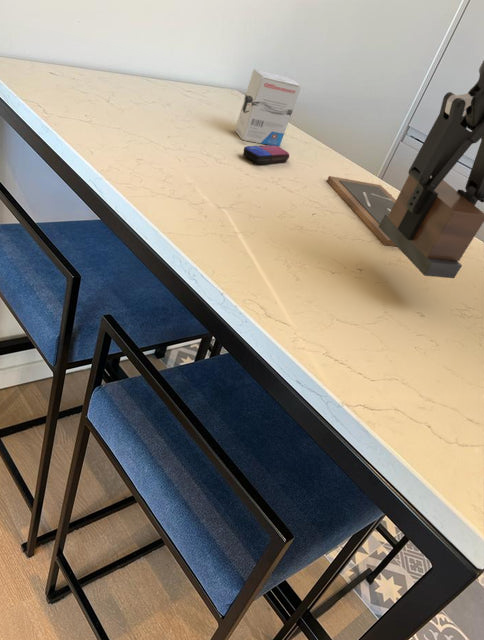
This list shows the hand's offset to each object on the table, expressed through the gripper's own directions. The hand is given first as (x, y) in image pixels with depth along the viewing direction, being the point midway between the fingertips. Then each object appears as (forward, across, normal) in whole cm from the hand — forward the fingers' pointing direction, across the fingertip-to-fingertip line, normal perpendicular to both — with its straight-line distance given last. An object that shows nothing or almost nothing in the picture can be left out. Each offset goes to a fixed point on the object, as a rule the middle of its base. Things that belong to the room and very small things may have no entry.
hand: (423, 236), depth 75 cm
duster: (+2, 0, 0) cm, 2 cm away
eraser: (+8, +5, -39) cm, 40 cm away
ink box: (+8, +3, -49) cm, 50 cm away
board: (+8, -12, -23) cm, 27 cm away
